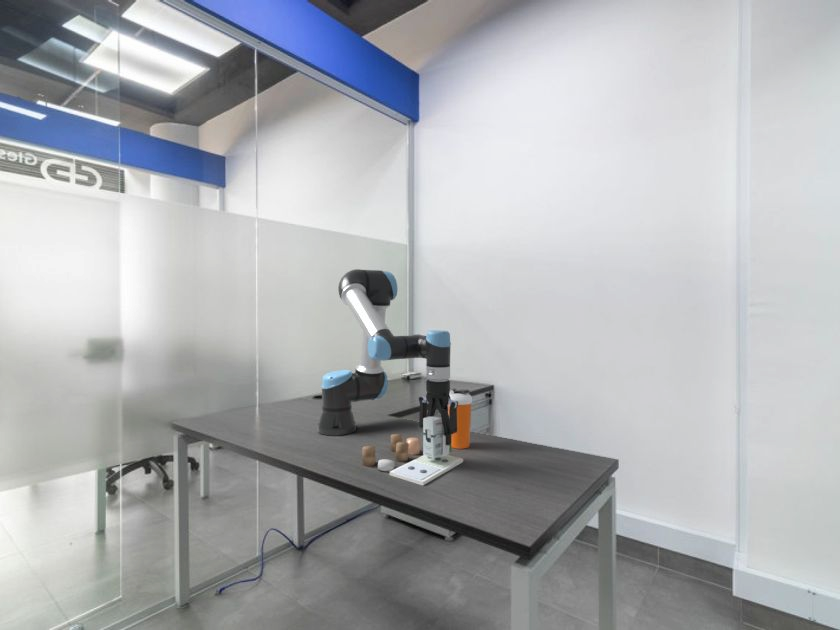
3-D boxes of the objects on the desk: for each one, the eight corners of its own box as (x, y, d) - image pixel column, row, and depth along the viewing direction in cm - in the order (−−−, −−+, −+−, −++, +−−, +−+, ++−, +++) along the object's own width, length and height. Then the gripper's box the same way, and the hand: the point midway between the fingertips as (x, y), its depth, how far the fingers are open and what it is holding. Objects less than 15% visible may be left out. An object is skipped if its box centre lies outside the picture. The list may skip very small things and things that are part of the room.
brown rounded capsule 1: (388, 450, 142) (388, 436, 142) (395, 447, 146) (395, 433, 146) (397, 453, 140) (397, 438, 140) (404, 449, 143) (404, 435, 143)
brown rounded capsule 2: (393, 460, 133) (394, 444, 132) (398, 456, 136) (398, 441, 136) (405, 462, 131) (406, 446, 131) (409, 458, 135) (410, 443, 135)
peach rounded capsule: (403, 453, 140) (404, 439, 140) (411, 449, 144) (411, 436, 144) (414, 455, 137) (414, 442, 137) (422, 452, 141) (422, 439, 141)
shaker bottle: (470, 450, 143) (471, 392, 142) (445, 448, 144) (445, 391, 144) (472, 442, 151) (473, 387, 151) (448, 440, 153) (448, 386, 153)
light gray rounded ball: (390, 472, 123) (391, 465, 123) (375, 469, 124) (375, 462, 124) (396, 467, 128) (397, 461, 128) (381, 464, 129) (382, 458, 129)
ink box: (440, 448, 136) (441, 412, 136) (452, 452, 132) (452, 415, 132) (422, 455, 130) (422, 417, 129) (433, 459, 126) (433, 420, 126)
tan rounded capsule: (359, 464, 129) (359, 448, 129) (367, 460, 133) (367, 445, 133) (370, 467, 127) (370, 450, 127) (377, 462, 131) (377, 447, 131)
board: (389, 475, 121) (389, 470, 121) (431, 454, 139) (431, 449, 139) (422, 485, 114) (422, 480, 114) (463, 461, 132) (463, 457, 132)
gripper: (407, 378, 133) (407, 450, 133) (457, 384, 122) (456, 462, 123) (421, 375, 139) (420, 443, 140) (469, 381, 128) (469, 455, 129)
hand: (437, 452), depth 131 cm, fingers closed on ink box, 5 cm apart
